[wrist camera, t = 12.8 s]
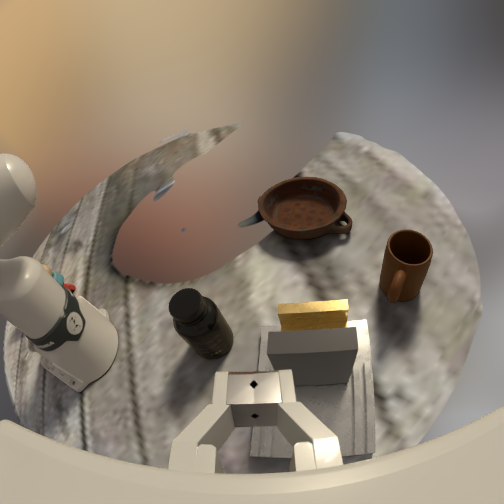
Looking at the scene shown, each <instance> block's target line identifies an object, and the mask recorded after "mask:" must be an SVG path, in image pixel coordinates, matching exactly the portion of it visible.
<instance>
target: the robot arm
mask: <svg viewBox="0 0 504 504" xmlns="http://www.w3.org/2000/svg"><path fill="white" fill-rule="evenodd" d="M35 203H36V184H35V179H34V176H33V174H32V172H31V170H30V168H29V167H28V166H27V164H26V163H25V162H24V161H23V160H22V159H20V158H19V157H17V156H15V155H11V154H6V153H4V154H0V247H1V246H2V245H3V244H4V243H5V242H6V241H7V240H8V239H9V238H10V237H11V236H12V235H13V234H14V233H15V232H16V231H17V230H18V228H19V227H20V226H21V224H22V223H23V222H24V220H25V219H26V218H27V216H28V215H29V213H30V212H31V211H32V209H33V208H34V207H35ZM0 315H1V316H2V317H4V318H5V319H6V320H7V321H9V322H10V323H11V324H13V325H14V326H15V327H17V328H18V329H19V330H20V331H22V332H23V333H24V334H26V337H27V338H28V339H29V341H30V342H31V343H32V344H33V345H34V350H35V351H36V352H37V353H39V354H40V355H41V356H42V360H41V362H40V364H41V365H42V366H43V367H44V368H45V369H46V370H47V371H49V372H50V373H51V374H53V375H54V376H55V377H57V378H58V379H59V380H61V381H62V382H64V383H65V384H66V385H68V386H69V387H71V388H72V389H74V390H75V391H77V392H81V391H82V390H83V389H84V388H85V387H86V386H87V385H88V384H89V383H91V382H92V381H94V380H96V379H98V378H100V377H101V376H102V375H103V374H104V373H105V372H106V371H107V370H108V369H109V367H110V366H111V364H112V363H113V361H114V358H115V356H116V353H117V348H118V335H117V332H116V329H115V327H114V326H113V325H112V323H111V322H110V320H109V315H108V312H107V311H106V310H105V309H103V308H102V309H96V308H95V307H94V306H93V305H92V304H90V303H89V302H88V301H87V300H86V299H84V298H83V297H81V296H79V297H75V296H74V295H73V294H72V293H71V292H70V291H69V290H68V289H67V288H65V287H64V286H63V285H61V284H58V282H57V281H56V280H55V279H54V278H53V277H52V276H51V275H50V274H49V273H48V272H47V270H46V269H45V268H44V267H43V266H42V265H41V264H40V263H39V262H38V261H37V260H35V259H33V258H30V257H26V256H20V257H16V258H13V259H8V260H2V259H0ZM263 426H277V428H278V429H279V431H280V432H281V433H282V434H283V436H284V437H285V438H286V439H287V441H288V442H289V443H290V444H291V446H292V447H293V453H292V457H291V462H290V466H289V470H290V472H281V473H263V474H224V468H223V465H222V463H221V460H220V457H219V455H218V451H219V449H220V448H221V447H222V445H223V444H224V443H225V441H226V440H227V439H228V437H229V436H230V434H231V433H232V432H233V430H234V429H235V427H263ZM0 504H504V406H502V407H500V408H499V409H497V410H495V411H493V412H491V413H490V414H488V415H486V416H484V417H482V418H480V419H478V420H476V421H474V422H472V423H470V424H468V425H466V426H464V427H461V428H459V429H457V430H455V431H452V432H450V433H448V434H445V435H443V436H440V437H438V438H435V439H433V440H430V441H427V442H425V443H422V444H419V445H416V446H413V447H410V448H407V449H404V450H400V451H397V452H394V453H390V454H387V455H383V456H379V457H375V458H371V459H367V460H363V461H358V462H354V463H349V464H343V461H342V456H341V451H340V447H339V442H338V437H337V436H336V435H335V434H334V433H333V432H332V431H331V430H330V429H328V428H327V427H326V426H325V425H324V424H323V423H322V422H321V421H320V420H319V419H318V418H317V417H316V416H315V415H314V414H313V413H311V412H310V411H309V410H308V409H307V408H306V407H305V406H304V405H303V404H302V403H301V402H297V401H296V394H295V387H294V381H293V374H292V370H291V369H290V370H279V371H278V370H271V371H254V372H216V373H215V379H214V388H213V398H212V404H208V405H207V406H206V407H205V408H204V409H203V410H202V412H201V413H200V414H199V415H198V416H197V417H196V418H195V419H194V420H193V421H192V422H191V423H190V424H189V425H188V426H187V427H186V428H185V429H184V430H183V431H182V432H181V433H180V434H179V435H178V436H177V437H176V438H175V439H174V440H173V443H172V449H171V455H170V460H169V466H168V469H165V468H158V467H152V466H146V465H141V464H135V463H131V462H126V461H121V460H117V459H113V458H109V457H105V456H101V455H98V454H94V453H91V452H87V451H84V450H81V449H78V448H75V447H72V446H69V445H66V444H63V443H60V442H58V441H55V440H52V439H50V438H47V437H45V436H42V435H40V434H38V433H35V432H33V431H31V430H28V429H26V428H24V427H22V426H20V425H18V424H16V423H14V422H12V421H9V420H2V421H0Z"/></svg>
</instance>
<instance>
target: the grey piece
mask: <svg viewBox="0 0 504 504" xmlns="http://www.w3.org/2000/svg"><path fill="white" fill-rule="evenodd" d="M278 316H279V320H280V323H281V326H262V333H261V345H260V356H259V367H258V371H271V370H274V369H273V366H272V364H271V362H270V360H269V358H268V356H267V343H268V332H276V331H301V330H319V329H333V328H346V327H356V329H357V339H358V352H357V356H356V359H355V363H354V366H353V369H352V373H351V376H350V379H349V382H348V383H340V384H326V385H303V386H294V387H295V394H296V401H297V402H301V403H302V404H303V405H304V406H305V407H306V408H307V409H308V410H309V411H310V412H311V413H313V414H314V415H315V416H316V417H317V418H318V419H319V420H320V421H321V422H322V423H323V424H324V425H325V426H326V427H327V428H328V429H330V430H331V431H332V432H333V433H334V434H335V435H336V436H337V437H338V442H339V447H340V451H341V456H352V455H362V454H370V453H375V406H374V388H373V374H372V362H371V351H370V342H369V333H368V325H367V320H359V321H348V322H347V317H348V301H347V299H346V300H334V301H320V302H305V303H287V304H278ZM292 453H293V447H292V446H291V444H290V443H289V442H288V441H287V439H286V438H285V437H284V436H283V434H282V433H281V432H280V431H279V429H278V428H277V426H263V427H253V430H252V439H251V449H250V456H255V457H272V458H291V457H292Z"/></svg>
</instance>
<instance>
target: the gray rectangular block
mask: <svg viewBox="0 0 504 504" xmlns="http://www.w3.org/2000/svg"><path fill="white" fill-rule="evenodd" d="M357 352H358V339H357V329H356V327H346V328H333V329H319V330H301V331H276V332H268V343H267V356H268V358H269V360H270V362H271V364H272V366H273V369H274V370H278V371H279V370H290V369H291V370H292V374H293V381H294V386H303V385H326V384H340V383H348V382H349V379H350V376H351V373H352V369H353V366H354V363H355V359H356V356H357Z"/></svg>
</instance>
